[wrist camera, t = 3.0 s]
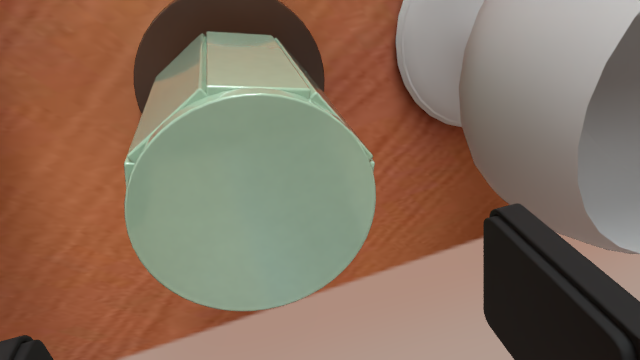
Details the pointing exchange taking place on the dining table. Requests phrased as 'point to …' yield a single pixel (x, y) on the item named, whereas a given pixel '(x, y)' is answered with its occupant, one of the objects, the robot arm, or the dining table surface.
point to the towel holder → (219, 16)
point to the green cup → (245, 178)
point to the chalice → (538, 103)
